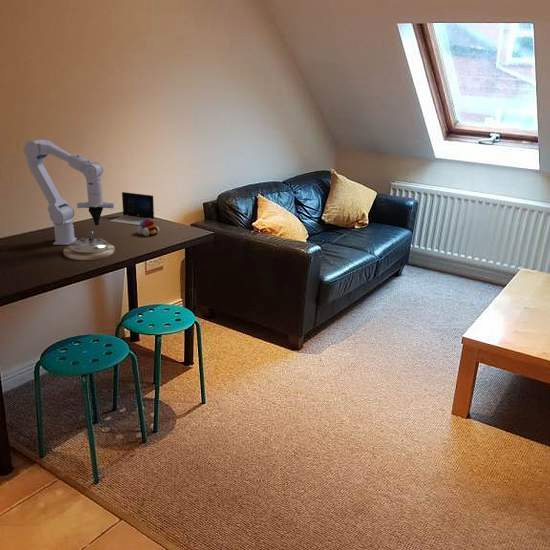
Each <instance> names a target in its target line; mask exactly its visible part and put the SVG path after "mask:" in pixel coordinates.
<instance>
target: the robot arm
mask: <svg viewBox="0 0 550 550" xmlns="http://www.w3.org/2000/svg"><path fill="white" fill-rule="evenodd" d="M23 153H24V154H25V158H26V163H27V166H28V168H29V170H30V172H31V174H32V175H33V177H34V179H35V180H36V183H37V184H38V186H39V188H40V190H41V191H42V194H43V195H44V197H45V199H46V200H47V203H48V207H47V211H48V213H49V219H50V220H51V222H52V223H53V227H54V236H55V241H54V242H53V243H52V245H56V246H57V245H59V246H60V245H63V246H64V245H65V246H67V245H68V246H70V245H69V243H70V242H74V241H77V240H78V238H77V237H75V228H74V223H73V218H74V216H75V210H74V208H73V207H72V206H71V205H70V204H69V202H68V201H67V200H65V199H64V198H62V197H61V195H60V193H59V191H58V190H57V187H56V186H55V184H54V182H53V180H52V178H51V177H50V174H49V173H48V171H47V169H46V168H45V167H46V166H45V165H44V162H45V160H46V158H47V156H48V155H51V156H54V157H55V158H58V159H60V160H62V161H65V162H67V163H68V166H69V167H70V168H72V169H74V170H76V171H78V172H80V173H82V175H83V176H84V177H85V181H86V191H87V202H86V201H85V202H82V201H81V202H77V203H76V208H77V209H87V208H88V212H89V214H90V216H91V218H92V220H93V223H94V226H99V225H100V219H101V216H102V212H103V211H104V209H112V210H113V209H114V208H115V203H114V202H106V201H105V202H104V201H103V186H102V175H103V173H104V169H103V166H102V164H100V163H99V162H94V161H93V162H92V160H91V159H89V160H88V159H87V158H85V157H83V156H82V154H80V153H78V154H77V153H74V154H71V153H70V152H68V151H66V150H65V149H62V148H61V147H59V146H58V145H56V144H54V143H53V142H52V141H49V140H48V139H46V138H40V139H37V140H28V141H26V143H25V144H24V146H23Z"/></svg>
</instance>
